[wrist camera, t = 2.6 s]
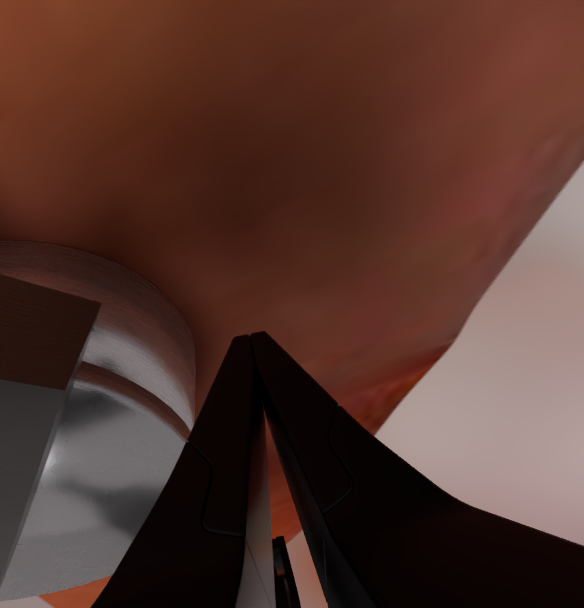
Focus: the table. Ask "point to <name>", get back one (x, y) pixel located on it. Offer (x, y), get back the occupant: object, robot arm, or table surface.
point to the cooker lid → (71, 447)
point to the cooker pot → (117, 318)
